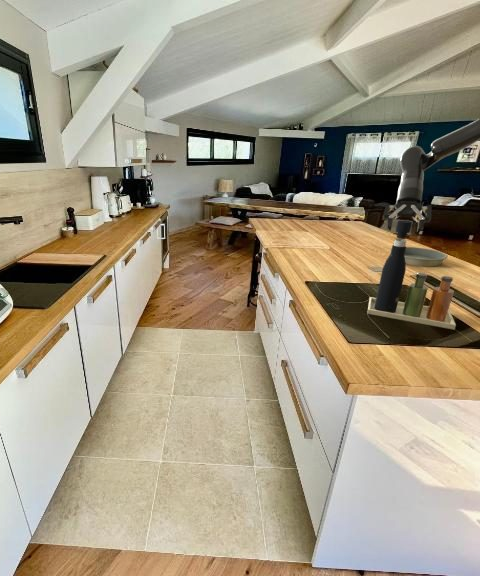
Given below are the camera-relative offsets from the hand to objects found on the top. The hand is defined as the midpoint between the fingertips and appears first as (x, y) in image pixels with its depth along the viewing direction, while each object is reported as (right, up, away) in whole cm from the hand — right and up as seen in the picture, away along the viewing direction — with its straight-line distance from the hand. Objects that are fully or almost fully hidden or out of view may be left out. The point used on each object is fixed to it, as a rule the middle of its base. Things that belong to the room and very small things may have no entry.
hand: (404, 229), depth 109 cm
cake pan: (+42, -6, +53) cm, 69 cm away
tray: (-2, -29, -5) cm, 30 cm away
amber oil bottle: (+4, -30, -9) cm, 32 cm away
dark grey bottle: (-8, -28, -2) cm, 29 cm away
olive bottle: (-2, -29, -6) cm, 30 cm away
